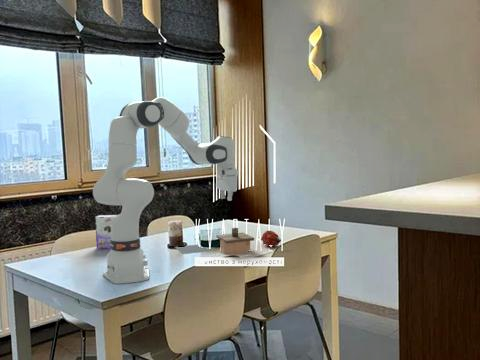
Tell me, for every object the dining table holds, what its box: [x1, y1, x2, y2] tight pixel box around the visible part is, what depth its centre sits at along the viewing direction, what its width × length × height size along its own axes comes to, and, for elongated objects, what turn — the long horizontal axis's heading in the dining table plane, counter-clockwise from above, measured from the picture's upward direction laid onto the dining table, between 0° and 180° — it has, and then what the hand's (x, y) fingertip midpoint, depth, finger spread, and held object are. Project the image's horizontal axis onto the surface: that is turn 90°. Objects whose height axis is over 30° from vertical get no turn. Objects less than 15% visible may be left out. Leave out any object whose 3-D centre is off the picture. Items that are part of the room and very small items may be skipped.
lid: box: [216, 227, 255, 243], centre depth 235 cm, size 14×14×5 cm
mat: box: [174, 244, 215, 255], centre depth 241 cm, size 16×16×1 cm
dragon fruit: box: [260, 230, 282, 246], centre depth 245 cm, size 8×8×12 cm
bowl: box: [219, 239, 251, 255], centre depth 236 cm, size 14×14×6 cm
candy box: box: [94, 214, 118, 250], centre depth 247 cm, size 14×6×16 cm, turn 84°
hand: (226, 199), depth 234 cm, fingers open, 8 cm apart
